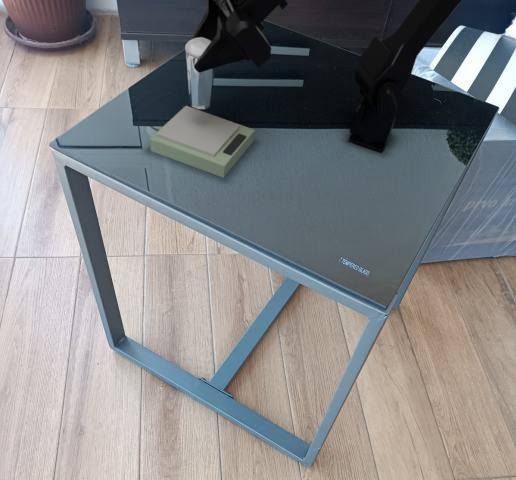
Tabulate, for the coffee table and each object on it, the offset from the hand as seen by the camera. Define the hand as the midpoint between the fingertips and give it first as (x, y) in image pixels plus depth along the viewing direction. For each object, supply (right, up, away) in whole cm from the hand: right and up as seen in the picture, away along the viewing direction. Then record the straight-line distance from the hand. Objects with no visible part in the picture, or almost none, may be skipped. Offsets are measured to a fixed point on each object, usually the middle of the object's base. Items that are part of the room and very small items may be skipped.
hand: (192, 60), depth 71 cm
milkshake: (+1, -4, +6) cm, 7 cm away
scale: (0, -8, +11) cm, 13 cm away
